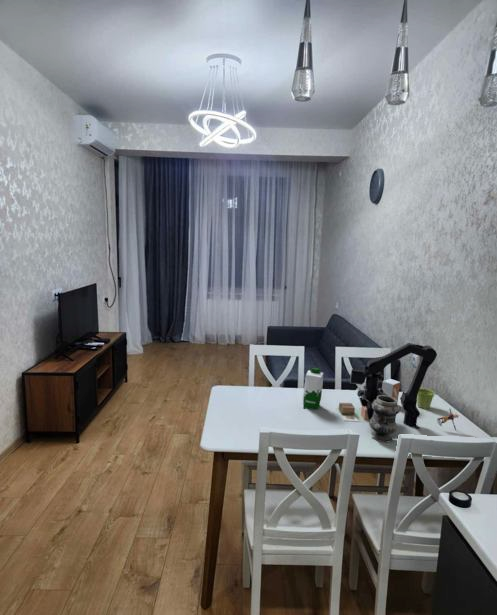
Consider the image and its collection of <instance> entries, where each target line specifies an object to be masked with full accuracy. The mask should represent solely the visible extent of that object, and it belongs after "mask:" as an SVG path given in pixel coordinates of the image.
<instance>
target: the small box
mask: <svg viewBox="0 0 497 615" xmlns="http://www.w3.org/2000/svg"><path fill="white" fill-rule="evenodd" d="M400 387H401V381H398V380H395V379H392V378H389V379H386V380H383V381H382V386H381V389H382V390H383V393H385V394H387V395H388V396H390V397H393V398H395V399H396V400H397V404H398V402H399V393H400Z"/></svg>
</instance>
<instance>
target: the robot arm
mask: <svg viewBox="0 0 497 615" xmlns="http://www.w3.org/2000/svg"><path fill="white" fill-rule="evenodd" d="M410 354H414V355H417V356H419V357H418V359H419V360H418V364H417V368H416V370H415V372H414V375H413V377H412V380H411V382H410V385H409V388H408V389H407V391H402V393H401V397H400V398H399V399H400V404H401V407H402V408H403V410H404V416H403V425H405V426H407V427H409V428H415V429H420V427H419V425H418V423H417V421H418V418H419V417H420V415H421V412H420V411H419V409H418V408H417V407H418V406H417V394H418V392H419V389H420V388H422V387H421V386H422V384H423V382H424V379H425V377H426V374H427V371H428V369H429V368H430V367H431V365H432V364H434V361H435V360H436V359H437V356H438V352H437V351H436V349H434V348H433V347H432V346H431V345H428V344H427V345H422V344H415V343H411V342H408V343H407V342H406V344H405V345H402V346H401V347H399V348H397V349H394V350H393V351H391V352H388V353H387V354H385V355H383V356H382V355H381V356H378V357H377V356H376V357H374V358H371V359H369V360H368V361H367V364H366V365H365V366H364V367H363V368H362V370H358V369H354V368H353V369H351V372H350V375H349V384H353V385H360V386H362V385H363V384H365V385H363V389H359V390H358V391H357V394H356V396H358V400H359V402H360V404H361V407H362V406H366V409H367V414H368V418H369V419H371V418H372V417H373V413H374V409H373V408H372V403H373V401H375V400H376V399H377V396H379V395H386V396H388V395H387V394H385V393H383V390H382V388H380V387H379V380H380V379H381V380H382V379H384V376H383V375H382V374H381V372H382V371H383V370H384V369H385V368H386V367H387V366H389V365H390V364H392V363H394V362H396V361H398V360H400V359H403V358H404V357H406V356H407V355H410ZM378 387H379V388H378Z"/></svg>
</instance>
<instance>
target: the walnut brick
mask: <svg viewBox="0 0 497 615" xmlns="http://www.w3.org/2000/svg"><path fill="white" fill-rule="evenodd" d="M338 408H339V411H340V413H341V414H342V415H350V416H354V412H355V408H356V407H355V406H354V405H353V403H352V402H339V404H338Z"/></svg>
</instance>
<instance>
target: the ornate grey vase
mask: <svg viewBox="0 0 497 615" xmlns="http://www.w3.org/2000/svg"><path fill="white" fill-rule="evenodd" d="M372 408H373V409H374V413H373V417H372V418H371V419H370V420H369V422H368V425H369V427H370V428H371V430H373V431H372V432H371V433H370V434H371V436H372V437H371V438H372V439H373V440H374V441H377V442H378V441H379V442H381V441H382V442H381V443H388V442H387V441H391V440H392V441H393V439H392V438H393V436H392V435H391V434H394V433H396V432H397V431H398V425H397V423H396V418H397V415H398V414H399V413H400V412H401V408H400V405H399V404H398V403H397V400H396V399H395V398H393V397H390V396H386V395H379V396H377V399H376V400H375V401H373V403H372ZM392 441H391V442H392Z"/></svg>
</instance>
